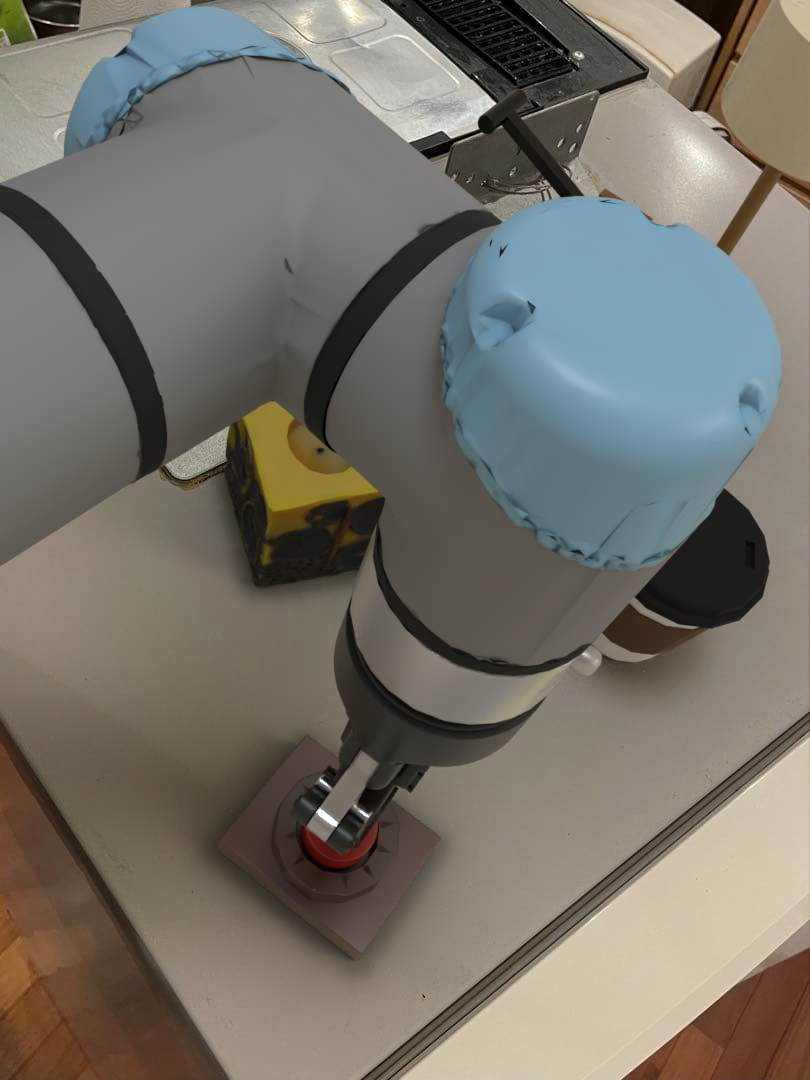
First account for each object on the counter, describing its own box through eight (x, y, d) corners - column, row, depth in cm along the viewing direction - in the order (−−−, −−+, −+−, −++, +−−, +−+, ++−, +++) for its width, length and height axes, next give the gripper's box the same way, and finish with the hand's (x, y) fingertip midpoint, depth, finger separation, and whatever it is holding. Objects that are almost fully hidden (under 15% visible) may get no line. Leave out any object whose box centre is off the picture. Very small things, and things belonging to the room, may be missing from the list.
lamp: (555, 380, 82) (750, 10, 55) (614, 312, 88) (816, -53, 61) (667, 455, 80) (924, 111, 54) (719, 381, 86) (975, 37, 59)
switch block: (216, 849, 57) (221, 831, 53) (302, 745, 61) (310, 722, 58) (355, 961, 55) (368, 949, 52) (432, 846, 60) (449, 829, 56)
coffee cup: (693, 582, 74) (778, 494, 64) (685, 714, 68) (777, 639, 58) (556, 539, 73) (620, 443, 63) (535, 668, 67) (602, 585, 57)
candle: (355, 449, 74) (381, 360, 65) (397, 565, 69) (430, 485, 61) (220, 468, 70) (229, 377, 62) (254, 591, 66) (269, 511, 57)
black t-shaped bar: (470, 127, 73) (488, 107, 71) (504, 100, 76) (522, 80, 74) (592, 274, 75) (612, 258, 73) (620, 243, 78) (642, 227, 76)
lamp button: (286, 838, 54) (290, 829, 53) (330, 782, 57) (334, 772, 55) (344, 884, 54) (349, 876, 52) (385, 826, 56) (392, 817, 55)
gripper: (445, 851, 29) (328, 971, 49) (635, 565, 36) (466, 770, 56) (247, 699, 30) (211, 876, 50) (469, 450, 37) (360, 691, 57)
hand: (346, 820), depth 53 cm, fingers closed
